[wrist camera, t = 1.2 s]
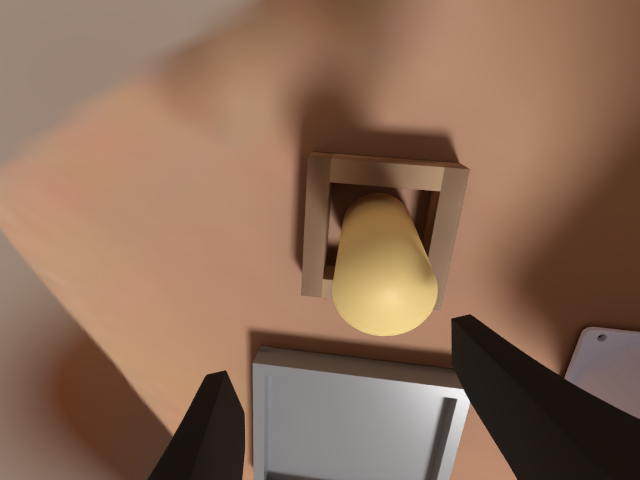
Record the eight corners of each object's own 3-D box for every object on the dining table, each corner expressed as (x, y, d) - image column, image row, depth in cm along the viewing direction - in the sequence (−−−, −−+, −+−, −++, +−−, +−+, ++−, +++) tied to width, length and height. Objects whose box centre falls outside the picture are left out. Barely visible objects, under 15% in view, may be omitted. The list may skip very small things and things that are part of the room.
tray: (465, 370, 24) (473, 390, 23) (432, 501, 29) (436, 526, 27) (259, 345, 25) (252, 363, 24) (259, 476, 30) (253, 498, 28)
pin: (416, 195, 21) (446, 249, 13) (405, 260, 22) (428, 341, 15) (345, 190, 21) (336, 238, 13) (340, 253, 22) (328, 330, 15)
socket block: (459, 163, 20) (469, 169, 18) (433, 293, 23) (440, 310, 21) (312, 151, 20) (307, 156, 18) (306, 279, 23) (301, 295, 21)
